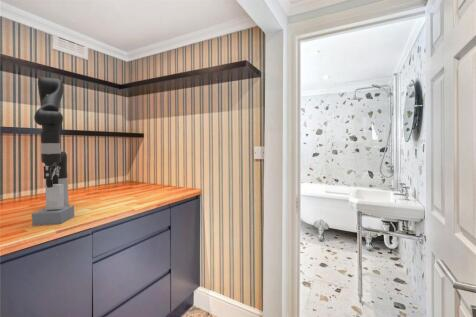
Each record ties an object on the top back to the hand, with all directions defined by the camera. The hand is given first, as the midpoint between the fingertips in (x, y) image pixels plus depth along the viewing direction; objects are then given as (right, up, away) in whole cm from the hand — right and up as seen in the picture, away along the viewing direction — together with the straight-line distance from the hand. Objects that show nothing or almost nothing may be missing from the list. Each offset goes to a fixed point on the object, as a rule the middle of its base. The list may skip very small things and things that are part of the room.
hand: (52, 185), depth 114 cm
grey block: (0, -18, +1) cm, 18 cm away
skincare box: (0, -12, +1) cm, 12 cm away
